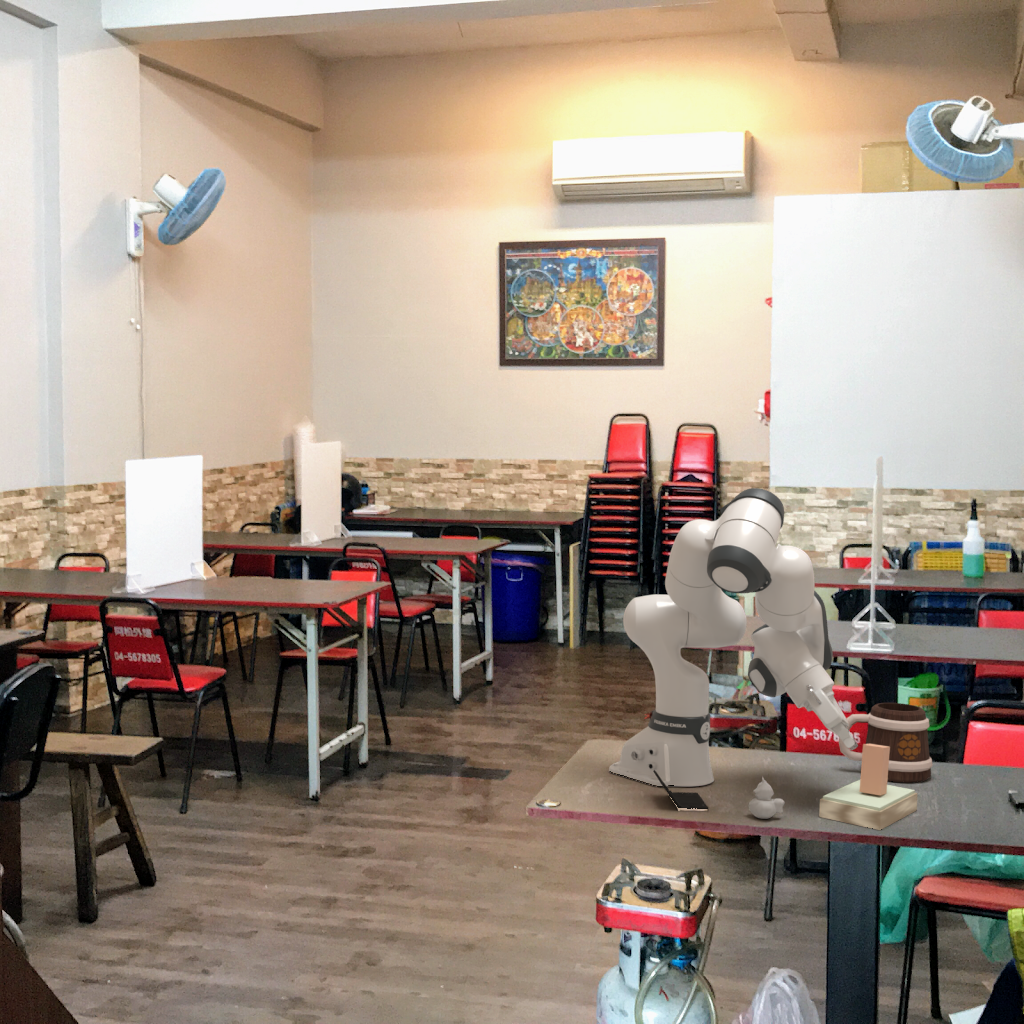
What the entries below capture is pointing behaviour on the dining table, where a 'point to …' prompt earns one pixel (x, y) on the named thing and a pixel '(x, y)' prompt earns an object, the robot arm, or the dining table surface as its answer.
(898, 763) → the mug
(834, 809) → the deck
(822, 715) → the robot arm
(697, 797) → the handheld gaming console
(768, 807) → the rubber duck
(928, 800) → the dining table surface
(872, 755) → the terracotta block
